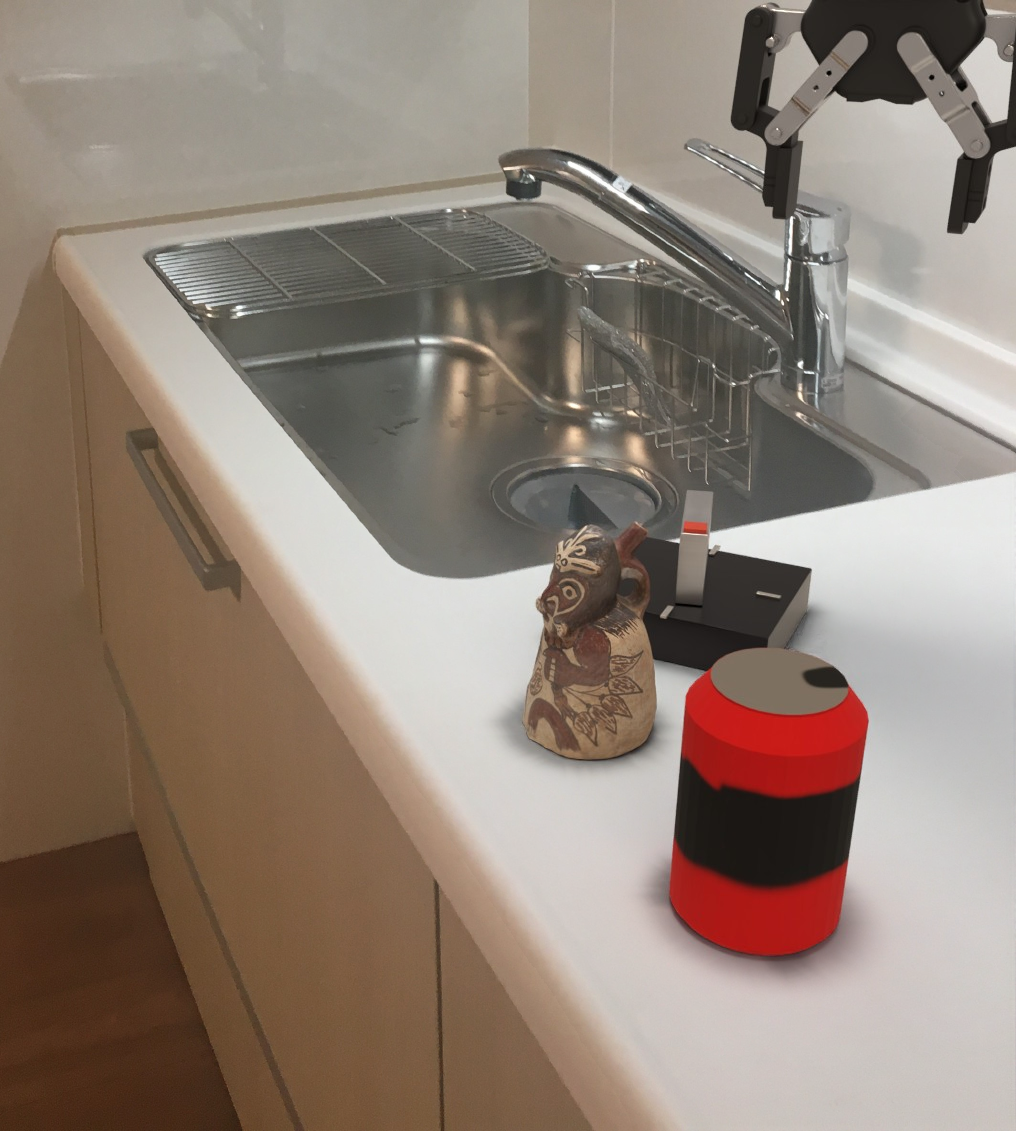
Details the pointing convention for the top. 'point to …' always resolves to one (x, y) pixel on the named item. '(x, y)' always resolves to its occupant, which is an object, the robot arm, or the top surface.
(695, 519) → the grey rectangular block
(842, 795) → the soda can
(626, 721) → the figurine
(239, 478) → the top surface
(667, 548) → the tap plate
